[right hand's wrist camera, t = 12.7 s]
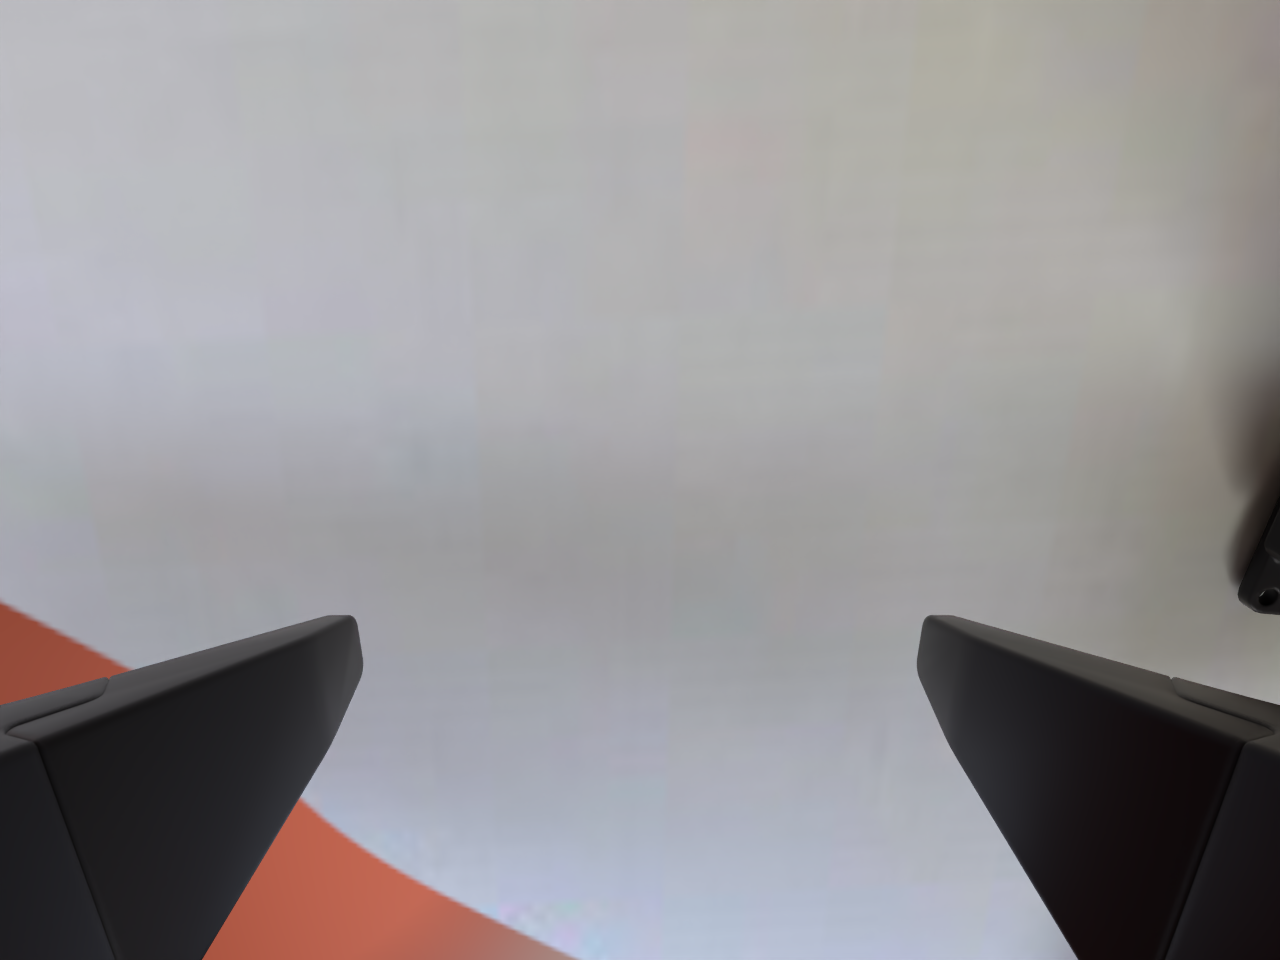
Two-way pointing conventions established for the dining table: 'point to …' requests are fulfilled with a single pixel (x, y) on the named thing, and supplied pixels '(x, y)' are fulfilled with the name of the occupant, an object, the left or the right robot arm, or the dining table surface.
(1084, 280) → the dining table surface
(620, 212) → the dining table surface
